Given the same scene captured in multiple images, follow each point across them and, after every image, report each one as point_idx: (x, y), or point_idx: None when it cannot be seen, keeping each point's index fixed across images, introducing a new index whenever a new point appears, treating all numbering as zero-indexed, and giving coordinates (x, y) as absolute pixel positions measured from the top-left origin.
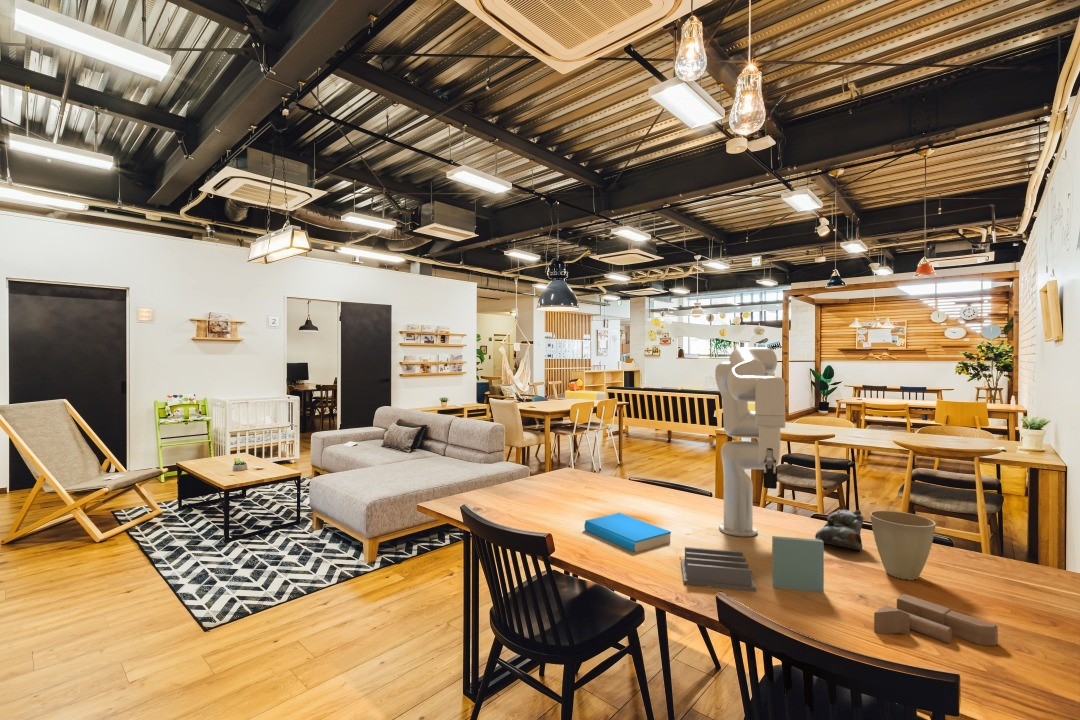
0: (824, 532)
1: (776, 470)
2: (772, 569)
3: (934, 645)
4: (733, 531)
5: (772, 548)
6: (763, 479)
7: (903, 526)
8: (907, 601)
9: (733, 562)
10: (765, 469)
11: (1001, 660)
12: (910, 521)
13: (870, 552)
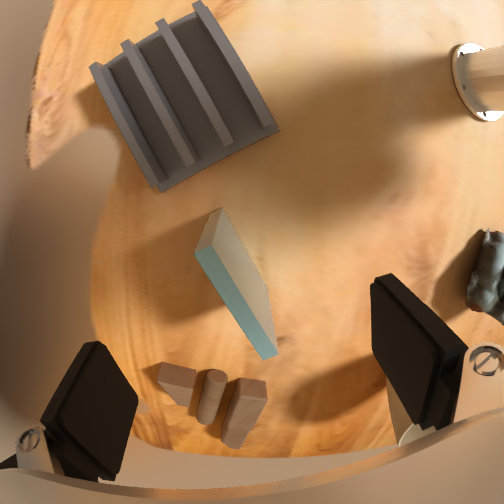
0: (490, 260)
1: (408, 412)
2: (217, 216)
3: None
4: (461, 72)
5: (212, 233)
6: (64, 379)
7: (399, 437)
8: (237, 404)
9: (171, 133)
10: (23, 455)
11: (201, 434)
12: None
13: None
